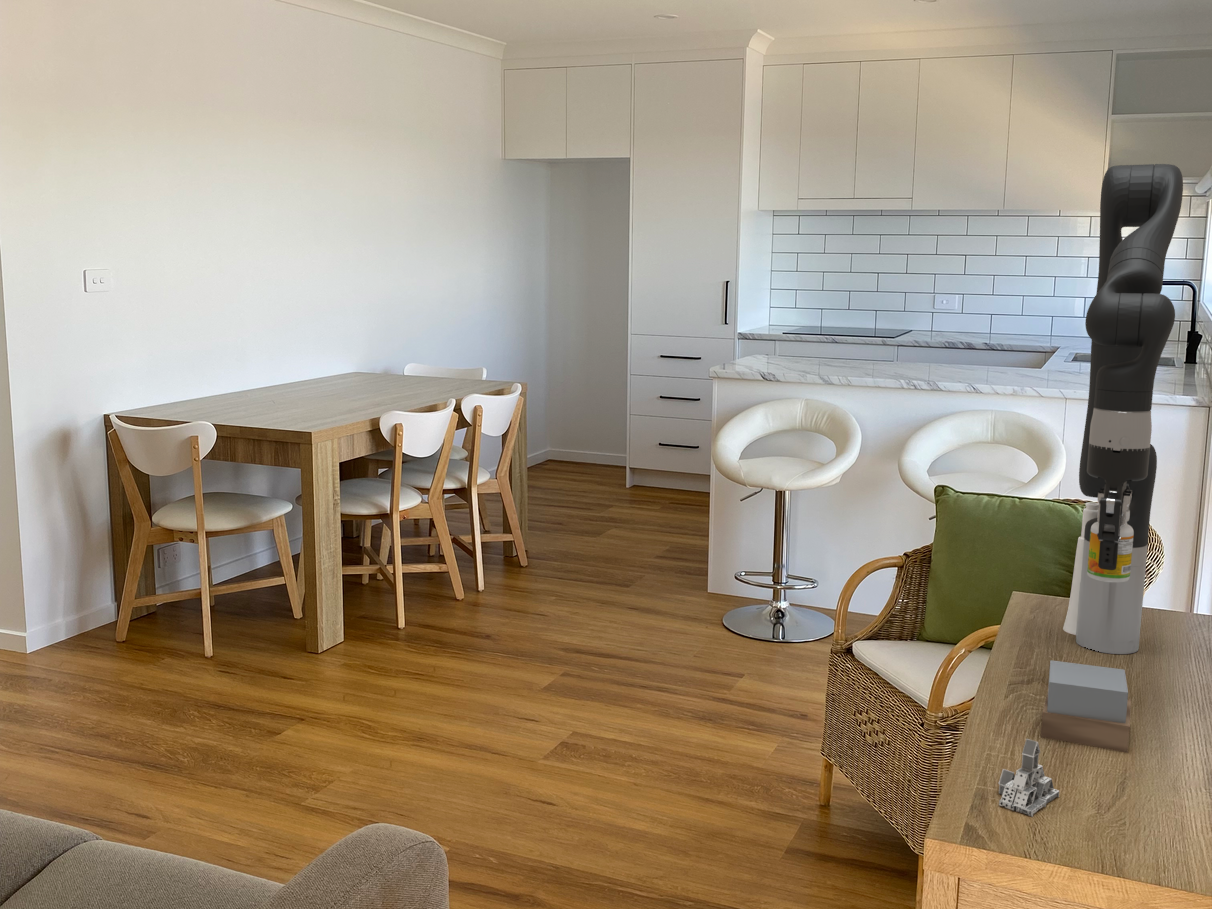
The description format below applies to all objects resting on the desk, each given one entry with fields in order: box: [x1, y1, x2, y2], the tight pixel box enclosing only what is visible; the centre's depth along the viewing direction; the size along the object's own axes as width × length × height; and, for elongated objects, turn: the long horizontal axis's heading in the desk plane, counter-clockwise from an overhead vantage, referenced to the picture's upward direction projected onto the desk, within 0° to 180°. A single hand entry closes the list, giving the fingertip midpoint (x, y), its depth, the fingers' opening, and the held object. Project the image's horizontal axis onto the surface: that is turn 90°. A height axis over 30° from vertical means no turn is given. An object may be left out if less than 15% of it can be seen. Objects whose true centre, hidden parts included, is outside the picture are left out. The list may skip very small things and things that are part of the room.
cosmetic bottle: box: [1062, 501, 1099, 636], centre depth 182 cm, size 6×6×22 cm
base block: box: [1040, 692, 1132, 753], centre depth 141 cm, size 10×10×4 cm
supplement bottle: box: [1087, 508, 1134, 582], centre depth 150 cm, size 5×5×10 cm
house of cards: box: [997, 738, 1060, 818], centre depth 123 cm, size 9×9×8 cm
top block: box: [1047, 660, 1129, 724], centre depth 141 cm, size 9×9×4 cm
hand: (1109, 563), depth 151 cm, fingers closed on supplement bottle, 5 cm apart
